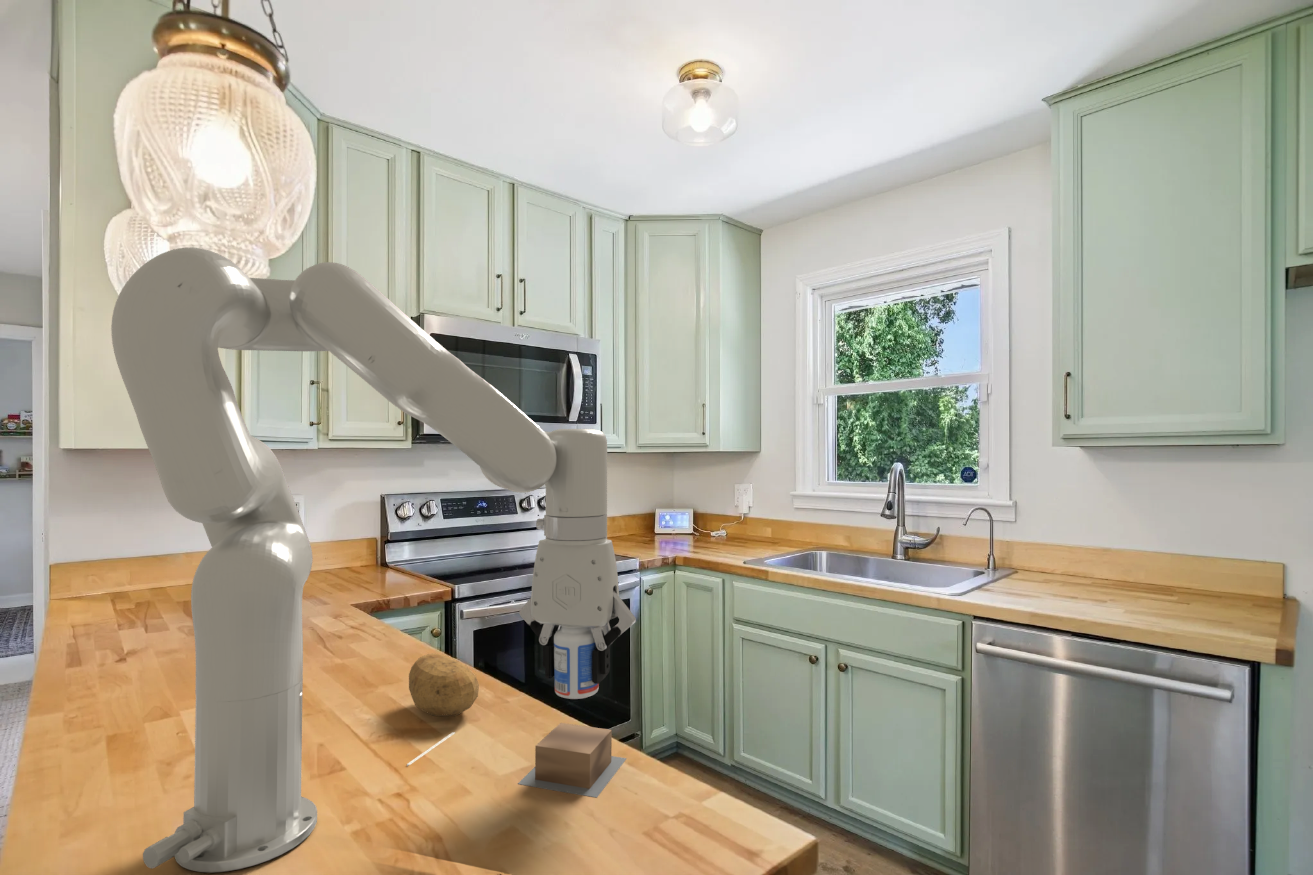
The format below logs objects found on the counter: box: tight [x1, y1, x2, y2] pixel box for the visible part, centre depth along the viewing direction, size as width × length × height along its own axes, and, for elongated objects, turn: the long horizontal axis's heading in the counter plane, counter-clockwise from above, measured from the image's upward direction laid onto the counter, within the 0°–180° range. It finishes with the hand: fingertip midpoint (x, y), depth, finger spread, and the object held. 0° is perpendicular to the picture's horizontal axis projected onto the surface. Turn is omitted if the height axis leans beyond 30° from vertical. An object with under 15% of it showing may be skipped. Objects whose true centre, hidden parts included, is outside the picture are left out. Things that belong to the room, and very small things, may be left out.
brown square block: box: [534, 722, 613, 789], centre depth 83 cm, size 7×7×4 cm
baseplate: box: [517, 755, 628, 798], centre depth 82 cm, size 10×10×1 cm
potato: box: [408, 653, 480, 717], centre depth 102 cm, size 10×14×8 cm
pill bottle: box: [553, 625, 600, 700], centre depth 83 cm, size 6×5×10 cm
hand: (576, 675), depth 83 cm, fingers closed on pill bottle, 5 cm apart
